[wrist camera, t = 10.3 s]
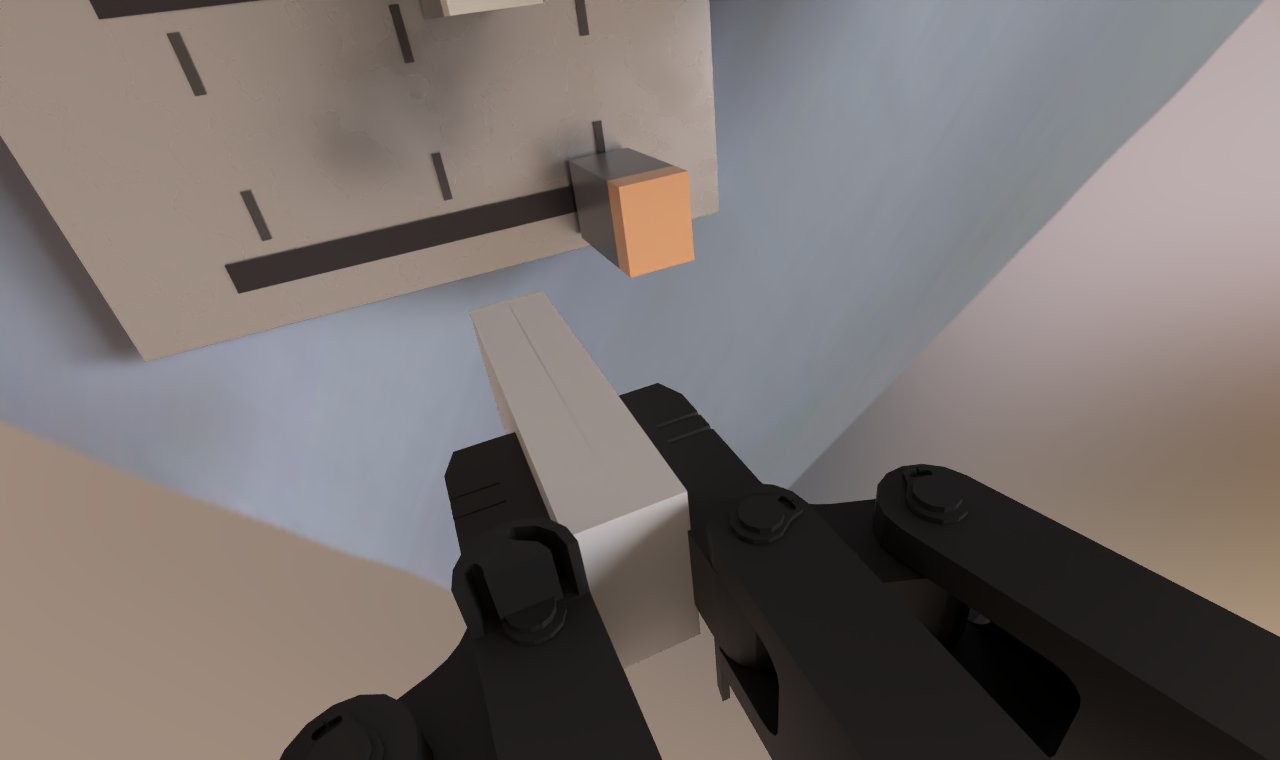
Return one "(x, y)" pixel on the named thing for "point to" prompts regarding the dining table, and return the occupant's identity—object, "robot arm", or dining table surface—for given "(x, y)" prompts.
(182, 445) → the dining table surface
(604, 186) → the fader far
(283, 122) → the console
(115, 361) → the dining table surface
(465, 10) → the fader near
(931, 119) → the dining table surface
